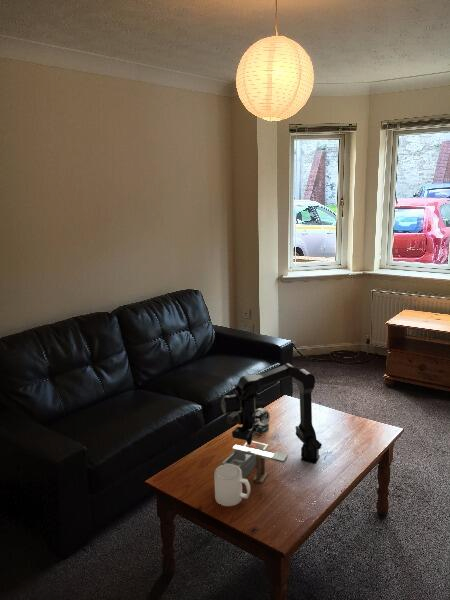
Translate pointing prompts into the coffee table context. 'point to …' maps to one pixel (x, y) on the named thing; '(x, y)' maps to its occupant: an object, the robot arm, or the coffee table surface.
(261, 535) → the coffee table surface
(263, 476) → the lever stand
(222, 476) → the mug
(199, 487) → the coffee table surface
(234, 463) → the chute
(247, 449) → the lever
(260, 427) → the watch
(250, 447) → the ball
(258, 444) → the cream square tray
